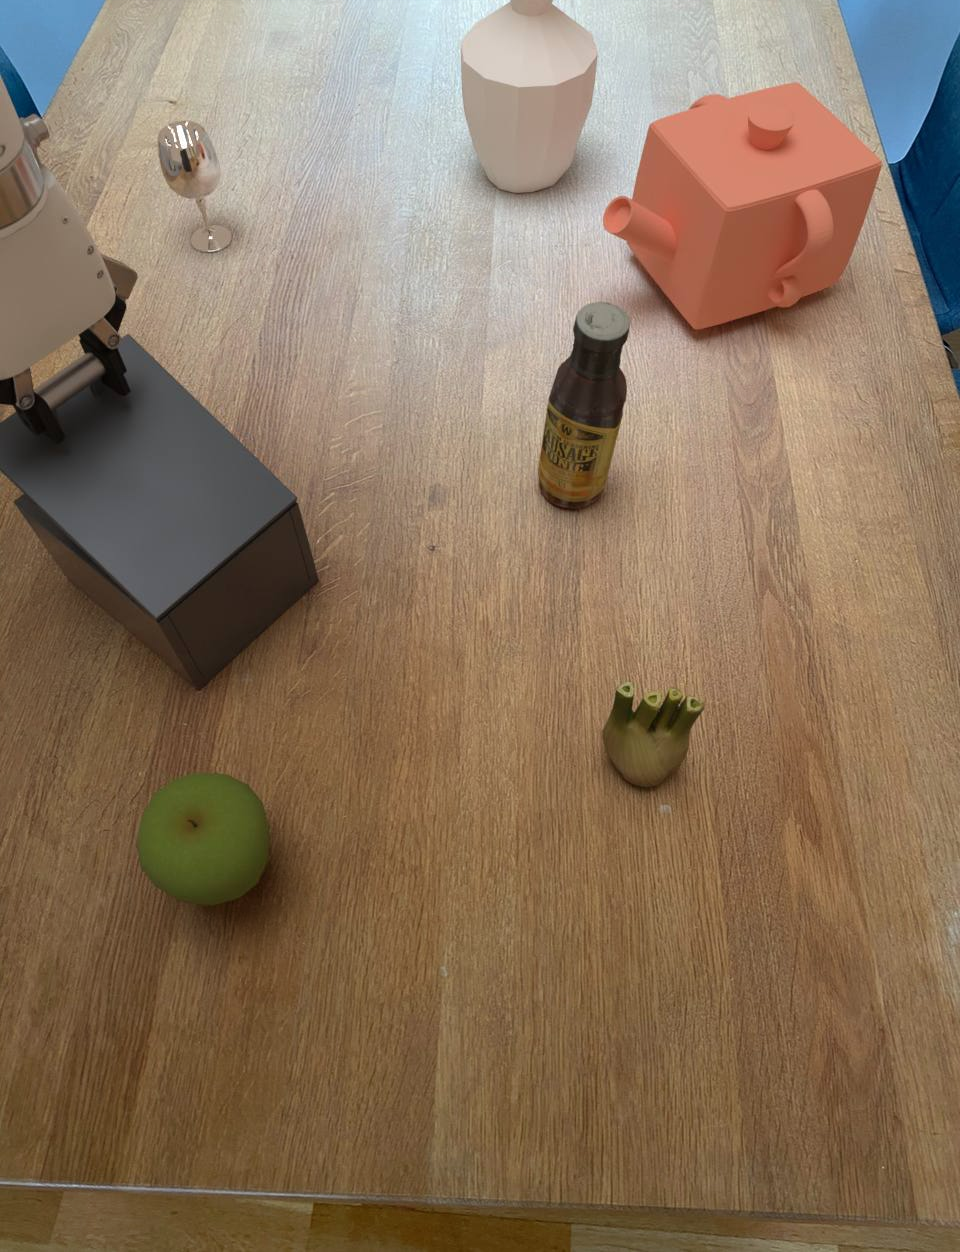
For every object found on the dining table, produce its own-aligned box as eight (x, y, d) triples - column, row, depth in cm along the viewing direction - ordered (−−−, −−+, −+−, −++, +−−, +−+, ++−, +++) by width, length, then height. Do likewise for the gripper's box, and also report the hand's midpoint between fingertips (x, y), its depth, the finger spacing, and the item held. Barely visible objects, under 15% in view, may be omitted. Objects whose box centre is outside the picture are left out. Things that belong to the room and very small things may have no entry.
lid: (-26, 446, 66) (-43, 411, 61) (128, 338, 71) (123, 298, 67) (156, 622, 66) (153, 600, 61) (296, 501, 71) (303, 473, 67)
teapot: (646, 393, 92) (681, 236, 76) (544, 252, 102) (557, 88, 86) (859, 320, 97) (931, 159, 81) (741, 192, 107) (786, 28, 92)
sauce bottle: (523, 493, 86) (535, 323, 68) (560, 449, 88) (581, 275, 71) (585, 526, 84) (613, 361, 67) (620, 481, 86) (656, 310, 69)
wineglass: (207, 264, 101) (176, 160, 91) (173, 239, 103) (139, 135, 92) (248, 238, 103) (223, 133, 93) (215, 214, 105) (186, 110, 95)
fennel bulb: (589, 759, 73) (608, 692, 62) (627, 715, 75) (651, 642, 64) (651, 806, 71) (680, 745, 60) (688, 760, 73) (723, 692, 62)
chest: (67, 578, 81) (12, 501, 71) (188, 481, 86) (153, 397, 77) (198, 691, 76) (158, 623, 66) (319, 580, 81) (298, 503, 71)
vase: (556, 125, 113) (574, -121, 92) (604, 196, 107) (636, -51, 85) (444, 150, 111) (436, -96, 89) (487, 224, 104) (489, -23, 83)
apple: (301, 905, 67) (271, 860, 57) (184, 946, 66) (132, 907, 56) (273, 796, 71) (240, 735, 61) (162, 832, 70) (109, 776, 60)
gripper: (50, 82, 56) (140, 319, 71) (-217, 225, 49) (-53, 452, 65) (134, 133, 53) (207, 367, 69) (-133, 291, 47) (15, 510, 63)
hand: (81, 406), depth 67 cm, fingers closed on lid, 5 cm apart
